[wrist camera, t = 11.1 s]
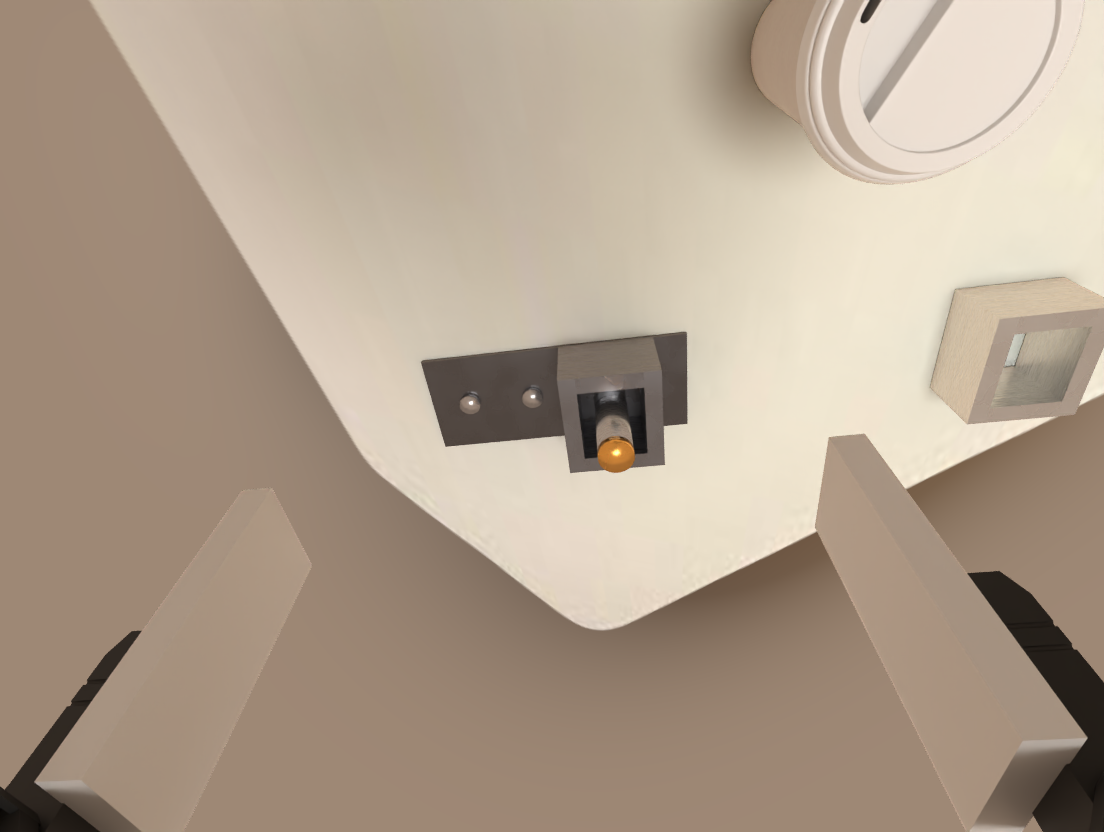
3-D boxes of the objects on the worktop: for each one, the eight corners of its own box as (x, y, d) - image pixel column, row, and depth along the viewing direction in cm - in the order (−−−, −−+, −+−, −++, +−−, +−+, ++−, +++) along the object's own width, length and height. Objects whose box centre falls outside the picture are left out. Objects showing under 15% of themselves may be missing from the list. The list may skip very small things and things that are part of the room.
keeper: (422, 360, 45) (391, 428, 37) (685, 331, 43) (711, 396, 35) (446, 444, 49) (423, 520, 41) (686, 421, 47) (709, 496, 39)
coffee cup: (846, -117, 29) (1055, -228, 17) (929, 49, 33) (1151, 59, 20) (689, 40, 33) (763, 46, 20) (779, 172, 36) (889, 246, 24)
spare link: (955, 289, 40) (999, 319, 36) (1063, 277, 40) (1121, 305, 36) (929, 387, 45) (966, 424, 41) (1027, 378, 44) (1074, 414, 40)
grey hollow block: (558, 347, 43) (556, 380, 39) (652, 337, 43) (661, 370, 38) (570, 434, 48) (570, 472, 43) (656, 426, 47) (664, 464, 43)
